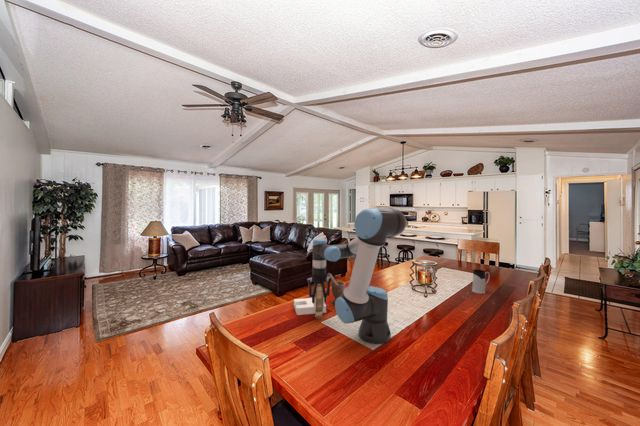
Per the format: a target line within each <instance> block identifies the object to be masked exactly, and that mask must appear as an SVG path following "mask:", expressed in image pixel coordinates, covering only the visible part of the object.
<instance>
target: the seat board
mask: <svg viewBox="0 0 640 426" xmlns="http://www.w3.org/2000/svg"><path fill="white" fill-rule="evenodd" d="M293 307H294V310H295V313H296V315H297V316H303V315H314V314H315V309H314V303H312V297H306V298H294V299H293ZM326 313H327V305H326V302H324V309H323V310H322V314H326Z"/></svg>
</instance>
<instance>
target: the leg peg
mask: <svg viewBox="0 0 640 426" xmlns="http://www.w3.org/2000/svg"><path fill="white" fill-rule="evenodd" d="M315 297H316V310H315V315H314V317H315V319H317V320H318V319H319V320H321V319H322V318H323V313H322V310H323V287H322V285H321V284H318V285H317V289H316V294H315Z"/></svg>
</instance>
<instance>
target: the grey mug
mask: <svg viewBox="0 0 640 426" xmlns="http://www.w3.org/2000/svg"><path fill="white" fill-rule="evenodd" d="M487 273H488V278H487V281H486V276H487V275H486V274H487ZM490 274H491V273H490V272H489V271H485V270H481V269H473V273H472V288H471V292H473V293H475V294H482V293H483V294H486V293H485V292H486V285H487V284H488V283H489V281H490V279H491V278H490V277H491V275H490Z"/></svg>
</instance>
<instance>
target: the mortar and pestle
mask: <svg viewBox="0 0 640 426" xmlns="http://www.w3.org/2000/svg"><path fill="white" fill-rule="evenodd" d="M326 276H327V277H330V278H331V281H330V283H331V292H332V295H333V297H334V299H333V300H332V304H333V305H334V306H335V301H336V299H337V298H338V297H342V295H343V291H344V289H345V288H346V282H345V281H339V280H337V281H336V280H335V278H334V276H333V275H332V273H330V272H328V273H326Z"/></svg>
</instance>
